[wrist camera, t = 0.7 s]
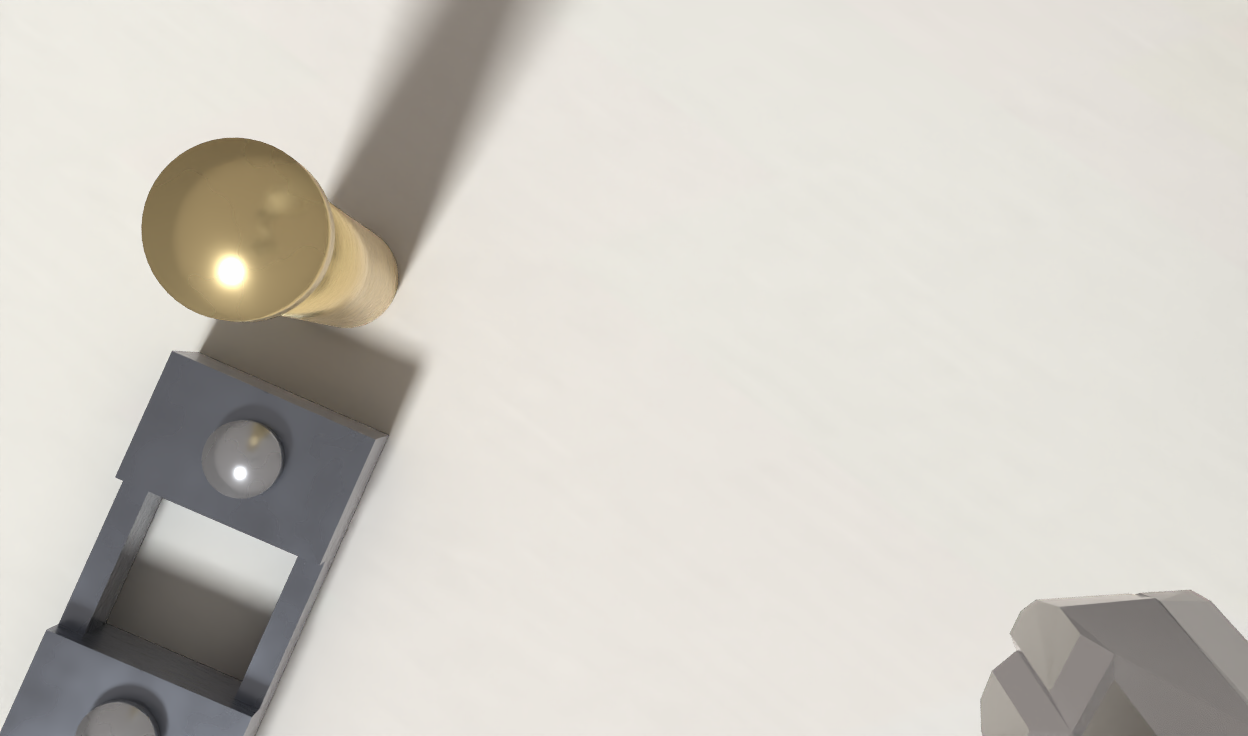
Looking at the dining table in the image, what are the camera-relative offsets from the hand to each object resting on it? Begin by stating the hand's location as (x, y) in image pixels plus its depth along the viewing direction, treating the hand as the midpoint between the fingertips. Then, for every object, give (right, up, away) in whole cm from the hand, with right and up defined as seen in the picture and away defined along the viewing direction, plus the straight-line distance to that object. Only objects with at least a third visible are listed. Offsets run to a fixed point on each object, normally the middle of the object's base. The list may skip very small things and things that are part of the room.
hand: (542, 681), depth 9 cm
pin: (-10, +6, +37) cm, 39 cm away
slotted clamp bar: (-15, -6, +36) cm, 40 cm away
